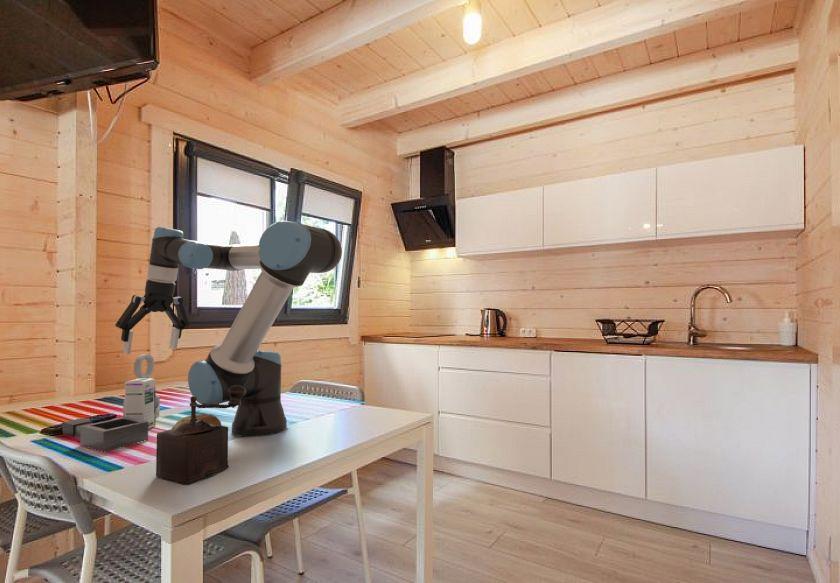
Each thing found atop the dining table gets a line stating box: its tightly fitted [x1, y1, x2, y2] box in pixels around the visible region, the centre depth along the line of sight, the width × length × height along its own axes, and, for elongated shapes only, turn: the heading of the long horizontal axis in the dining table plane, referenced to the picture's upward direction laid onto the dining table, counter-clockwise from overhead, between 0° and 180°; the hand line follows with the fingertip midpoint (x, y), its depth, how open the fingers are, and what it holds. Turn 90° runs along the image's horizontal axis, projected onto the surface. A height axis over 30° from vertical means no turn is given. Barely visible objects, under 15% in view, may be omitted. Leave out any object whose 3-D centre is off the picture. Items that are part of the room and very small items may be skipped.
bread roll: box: [171, 413, 222, 429], centre depth 116 cm, size 10×15×8 cm, turn 157°
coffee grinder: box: [155, 385, 246, 486], centre depth 99 cm, size 16×11×18 cm
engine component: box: [122, 353, 161, 419], centre depth 145 cm, size 11×20×10 cm
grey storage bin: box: [61, 416, 149, 453], centre depth 122 cm, size 28×11×5 cm, turn 61°
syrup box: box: [124, 377, 157, 430], centre depth 132 cm, size 6×6×14 cm
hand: (150, 350), depth 132 cm, fingers open, 13 cm apart
